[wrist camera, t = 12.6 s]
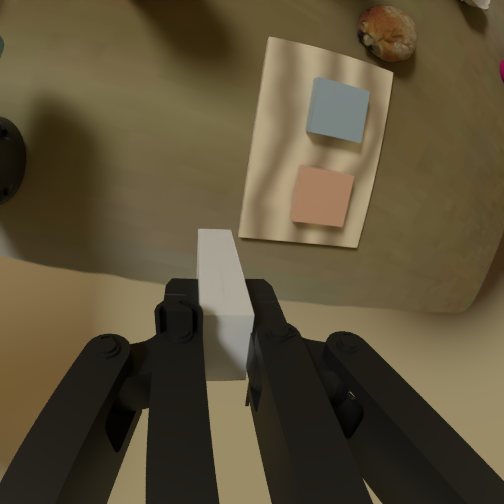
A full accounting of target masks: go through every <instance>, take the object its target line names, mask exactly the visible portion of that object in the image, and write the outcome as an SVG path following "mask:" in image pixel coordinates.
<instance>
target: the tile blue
mask: <svg viewBox="0 0 504 504" xmlns="http://www.w3.org/2000/svg"><path fill="white" fill-rule="evenodd" d="M369 94H370V92H369V91H366V90H363V89H360V88H357V87H353V86H350V85H347V84H343V83H340V82H336V81H332V80H329V79H325V78H321V77H317V78H314V82H313V88H312V94H311V100H310V106H309V112H308V118H307V124H306V130H305V131H307V132H313V133H317V134H322V135H327V136H332V137H336V138H340V139H345V140H349V141H353V142H357V143H361V140H362V135H363V130H364V124H365V118H366V113H367V107H368V100H369Z"/></svg>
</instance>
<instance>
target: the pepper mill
mask: <svg viewBox="0 0 504 504" xmlns="http://www.w3.org/2000/svg"><path fill="white" fill-rule="evenodd" d="M500 73H501V77H502V79H503V81H504V60H503V61H502V62H501V64H500Z"/></svg>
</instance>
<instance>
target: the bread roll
mask: <svg viewBox="0 0 504 504" xmlns="http://www.w3.org/2000/svg"><path fill="white" fill-rule="evenodd" d="M358 30H359V31H358V37H359V38H360V39H361V41H362V42H363V44H364V45H365V46H366V48H368V49H369V50H370V51H371V52H372V53H373V54H374V55H376V56H377V57H379V58H381V59H382V60H384V61H387V62H397V61H404V60H407V59H408V58H409V57H410V56H411V55H412V53H413V52H414V50H415V49H416V44H417V28H416V25H415V23H414V21H413V20H412V19H411V18H410V17H409V16H408V15H407V14H406V13H405V12H402V11H401V10H399V9H398V8H396V7H393V6H377V7H373V8H370V9H368V10H366V11H365V12H364V13H363V14H362V15H361V16H360V18H359V20H358Z"/></svg>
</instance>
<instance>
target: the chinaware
mask: <svg viewBox="0 0 504 504" xmlns="http://www.w3.org/2000/svg"><path fill="white" fill-rule="evenodd" d="M461 1H464V2H465V3H467V4H468V5H470V6H473V7H479V8H481V9H483V10H486V11H487V10H488V9H489V6H488V5H489V4H490V3H491V0H461Z"/></svg>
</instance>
